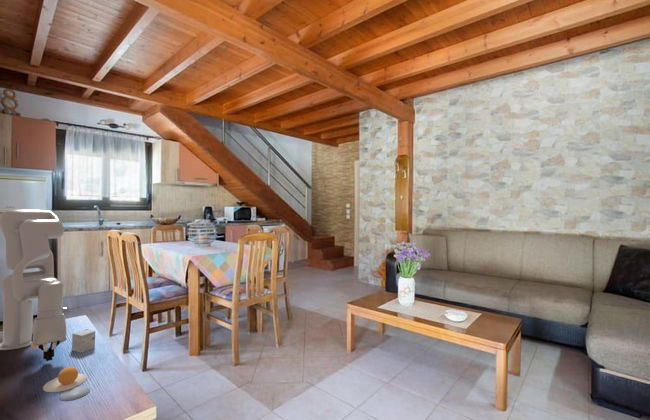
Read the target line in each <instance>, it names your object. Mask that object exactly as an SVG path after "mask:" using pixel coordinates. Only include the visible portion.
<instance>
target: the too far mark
mask: <svg viewBox="0 0 650 420" xmlns="http://www.w3.org/2000/svg"><path fill="white" fill-rule="evenodd" d="M90 391H91V388H90V387H89V386H77V387H74V388H72V389H69V390H65V391H62V393H61V394H60V395H59V400H60V401H63V402H64V401H65V402H68V401H69V400H70V401H74V400H78V399H80V398H83V397H85V396H87V395H88V394H89V393H90Z"/></svg>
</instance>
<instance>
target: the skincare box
mask: <svg viewBox="0 0 650 420" xmlns="http://www.w3.org/2000/svg"><path fill="white" fill-rule="evenodd" d="M71 336H72V338H71V340H72V341H71V351H73V352H75V353H76V352H77V353H84V352H86V351H88V350H89V351H90V350H92V349H95V348H96V330H92V329H87V328H86V329H84V330H80V331H75V332H73V333H72V335H71Z"/></svg>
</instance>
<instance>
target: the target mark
mask: <svg viewBox="0 0 650 420" xmlns="http://www.w3.org/2000/svg"><path fill="white" fill-rule="evenodd" d="M87 379H88V377H87V375H86V374H85V373H78V377H77V379H76V380H75V381H74V382H72V383H70V384H67V385H63V384H61V383H59V381H58V376H57V377H55V378H53V379H51V380H49V381H48V382H46V383H45V384H44V385H43V386H42V390H43V391H44V392H46V393H59V392H65V391H67V390H69V389H72V388H76V387H80V386H82V384H84V383H85V382H86V381H87Z"/></svg>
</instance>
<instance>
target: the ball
mask: <svg viewBox="0 0 650 420" xmlns="http://www.w3.org/2000/svg"><path fill="white" fill-rule="evenodd" d="M78 374H79V370H78V369H77V368H76V367H75V366H67V367H64V368H63V369H62V370H60V372H59V374H58V376H57V377H58V381H59V383H61V384H63V385H67V384H70V383H72V382H74V381H75V380H76V379H77V377H78Z"/></svg>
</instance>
